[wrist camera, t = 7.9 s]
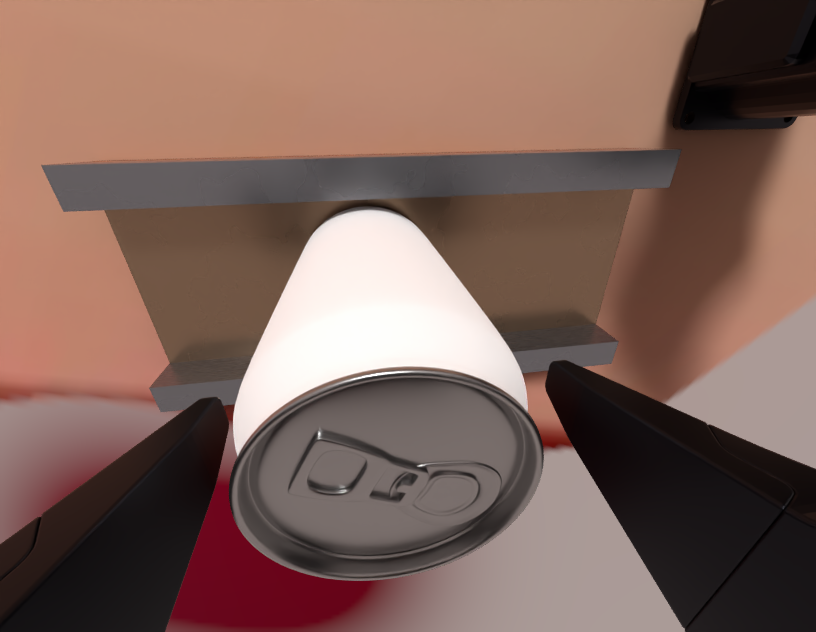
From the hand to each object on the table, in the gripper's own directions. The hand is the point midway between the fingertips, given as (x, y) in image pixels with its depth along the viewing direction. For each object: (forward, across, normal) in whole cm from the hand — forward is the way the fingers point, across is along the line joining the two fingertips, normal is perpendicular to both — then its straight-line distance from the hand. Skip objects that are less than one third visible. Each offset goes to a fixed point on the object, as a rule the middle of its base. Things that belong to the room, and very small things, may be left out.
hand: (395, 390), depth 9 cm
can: (+9, 0, 0) cm, 9 cm away
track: (+10, -1, 0) cm, 10 cm away
